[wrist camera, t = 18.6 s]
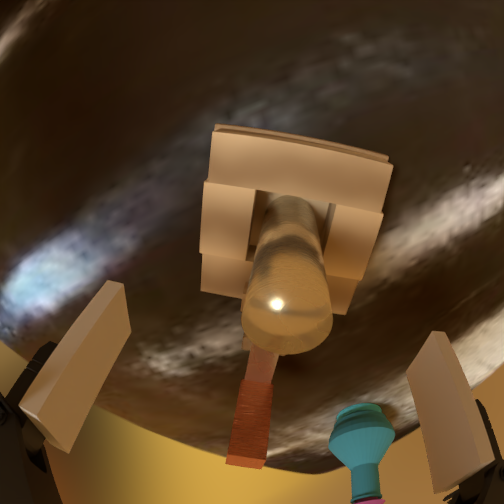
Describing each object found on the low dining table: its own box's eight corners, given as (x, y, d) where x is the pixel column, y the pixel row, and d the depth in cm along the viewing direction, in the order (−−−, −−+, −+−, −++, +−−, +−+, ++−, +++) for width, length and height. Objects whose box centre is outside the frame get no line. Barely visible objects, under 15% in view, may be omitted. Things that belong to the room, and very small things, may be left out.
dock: (217, 123, 21) (198, 129, 17) (385, 154, 21) (409, 169, 16) (202, 313, 30) (189, 349, 26) (329, 334, 29) (332, 372, 25)
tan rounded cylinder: (267, 190, 23) (246, 278, 12) (319, 200, 22) (344, 294, 12) (260, 238, 24) (237, 347, 14) (309, 246, 24) (319, 359, 14)
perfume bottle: (315, 424, 38) (314, 516, 25) (352, 392, 34) (361, 499, 21) (364, 433, 39) (370, 515, 26) (402, 403, 35) (419, 495, 21)
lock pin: (258, 284, 23) (240, 387, 15) (297, 291, 23) (296, 395, 14) (241, 380, 29) (225, 463, 20) (270, 385, 29) (261, 469, 20)
